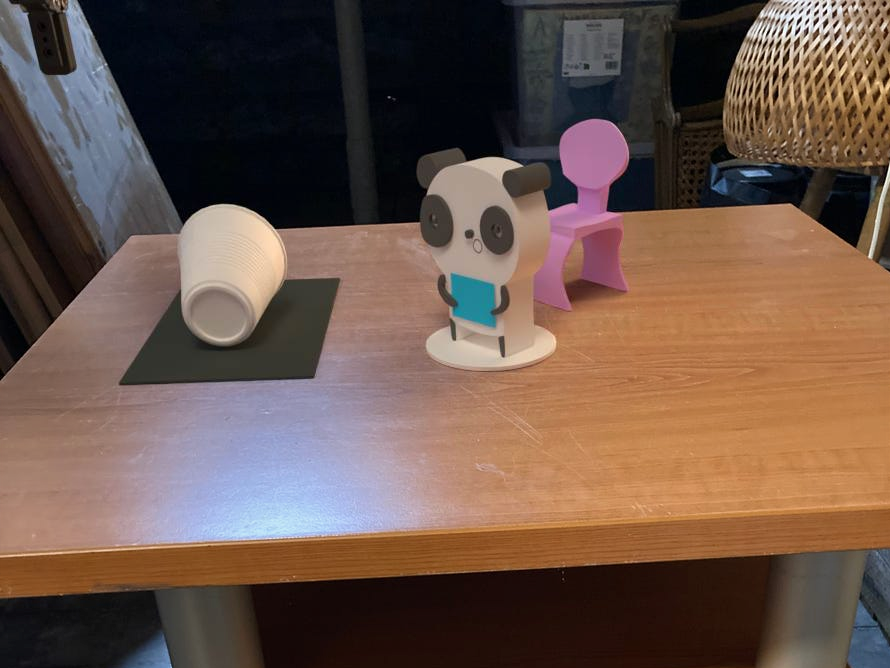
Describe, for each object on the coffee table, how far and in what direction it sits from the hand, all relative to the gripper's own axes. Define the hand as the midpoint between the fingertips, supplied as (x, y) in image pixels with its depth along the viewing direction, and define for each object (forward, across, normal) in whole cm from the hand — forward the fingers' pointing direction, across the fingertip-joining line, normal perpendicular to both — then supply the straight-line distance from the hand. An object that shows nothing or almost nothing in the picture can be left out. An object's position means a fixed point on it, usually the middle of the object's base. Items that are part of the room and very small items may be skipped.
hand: (59, 73), depth 72 cm
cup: (+18, -2, +8) cm, 20 cm away
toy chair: (+21, -16, +40) cm, 48 cm away
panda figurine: (+22, -3, +31) cm, 38 cm away
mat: (+22, -9, +8) cm, 25 cm away
